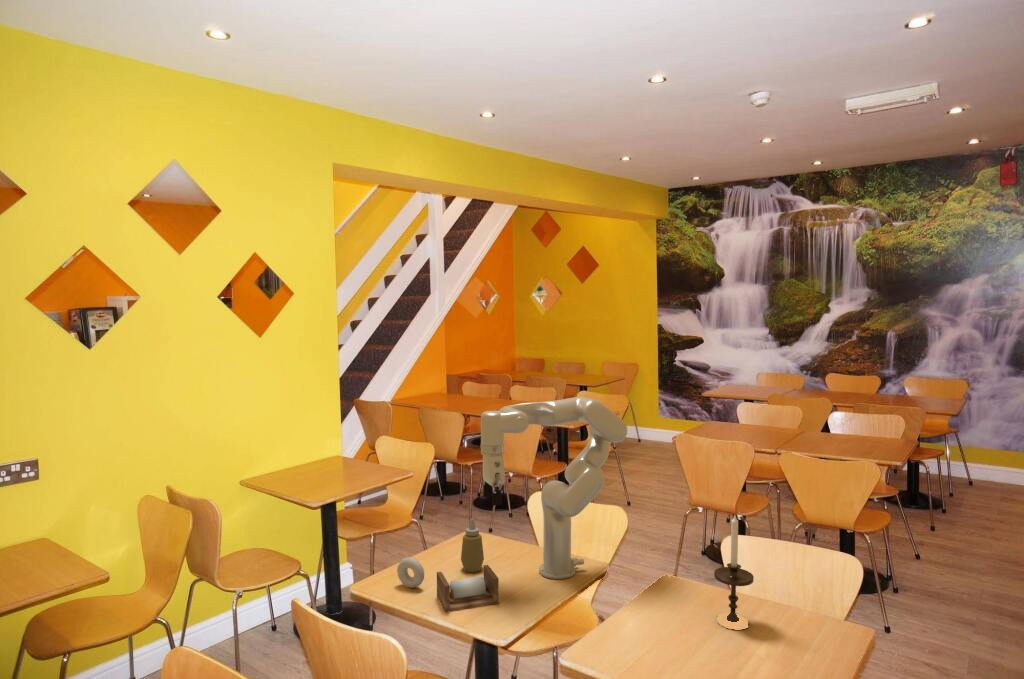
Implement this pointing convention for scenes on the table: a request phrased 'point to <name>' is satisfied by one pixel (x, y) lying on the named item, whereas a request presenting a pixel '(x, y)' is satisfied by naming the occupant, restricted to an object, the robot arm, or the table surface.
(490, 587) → the cradle
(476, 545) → the squeeze bottle
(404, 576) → the donut
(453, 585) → the roll
